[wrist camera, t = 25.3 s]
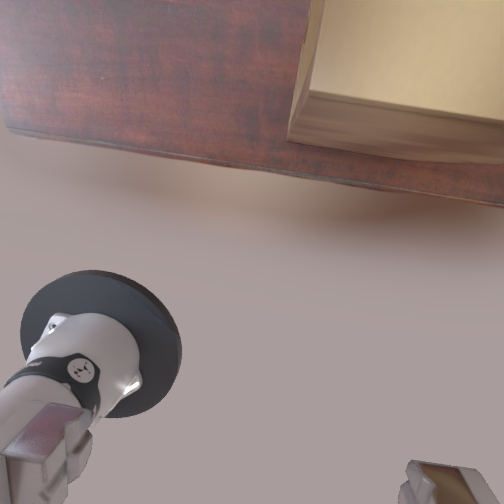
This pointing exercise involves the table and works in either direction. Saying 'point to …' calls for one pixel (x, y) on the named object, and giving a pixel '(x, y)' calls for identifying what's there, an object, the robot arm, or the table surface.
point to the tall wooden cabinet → (403, 79)
